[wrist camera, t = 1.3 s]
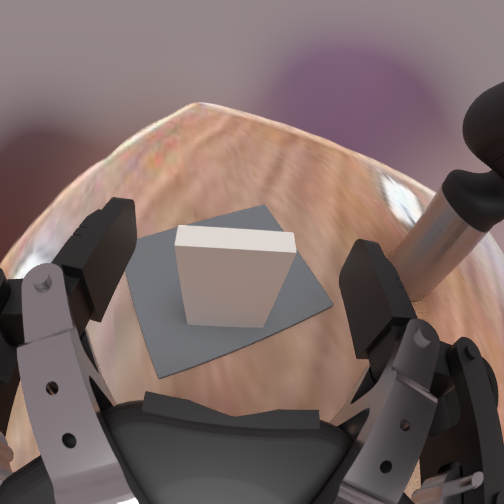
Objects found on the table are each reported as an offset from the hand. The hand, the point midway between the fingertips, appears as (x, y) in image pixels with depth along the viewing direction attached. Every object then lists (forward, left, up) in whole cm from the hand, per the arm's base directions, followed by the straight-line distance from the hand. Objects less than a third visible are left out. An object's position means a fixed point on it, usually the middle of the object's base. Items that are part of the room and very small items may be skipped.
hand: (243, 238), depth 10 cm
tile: (-3, -6, -23) cm, 25 cm away
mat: (-5, -12, -24) cm, 28 cm away
